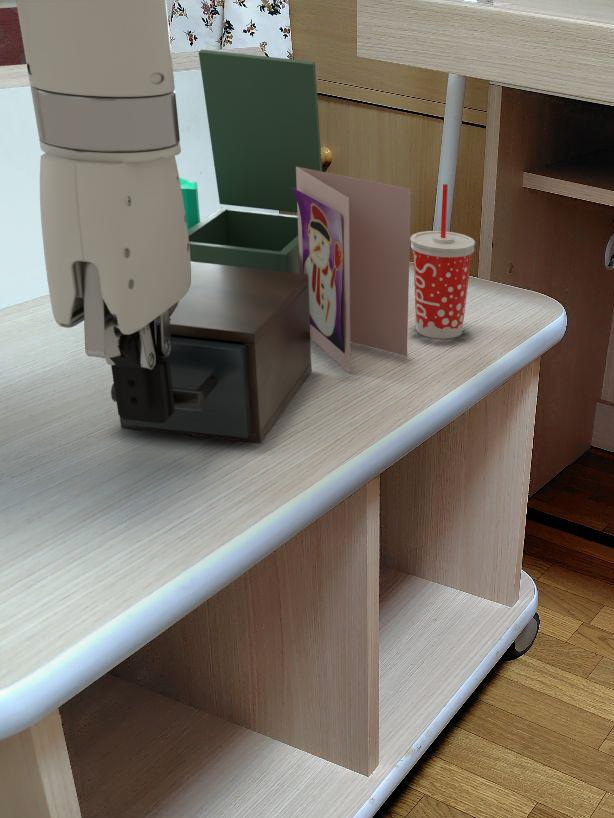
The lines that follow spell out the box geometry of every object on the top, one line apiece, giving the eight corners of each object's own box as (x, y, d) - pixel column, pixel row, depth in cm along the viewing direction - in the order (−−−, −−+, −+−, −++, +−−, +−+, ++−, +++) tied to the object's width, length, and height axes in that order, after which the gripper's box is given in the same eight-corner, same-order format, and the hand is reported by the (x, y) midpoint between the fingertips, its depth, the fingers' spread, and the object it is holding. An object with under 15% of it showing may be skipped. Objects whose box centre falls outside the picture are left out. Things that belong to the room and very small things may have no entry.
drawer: (227, 464, 69) (220, 373, 65) (94, 449, 69) (80, 357, 65) (297, 370, 84) (294, 292, 80) (188, 358, 84) (180, 279, 81)
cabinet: (260, 443, 74) (253, 333, 70) (120, 427, 74) (105, 317, 70) (311, 371, 86) (308, 274, 82) (191, 357, 87) (182, 260, 82)
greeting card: (293, 331, 94) (286, 166, 86) (364, 322, 98) (364, 164, 90) (341, 374, 86) (338, 198, 79) (417, 364, 90) (422, 194, 82)
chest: (289, 337, 93) (286, 254, 89) (178, 325, 93) (169, 241, 89) (325, 293, 104) (324, 218, 100) (226, 282, 104) (221, 207, 100)
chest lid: (312, 64, 90) (315, 61, 91) (198, 51, 90) (201, 49, 91) (323, 215, 100) (325, 212, 100) (219, 204, 100) (222, 201, 100)
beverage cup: (399, 322, 99) (401, 177, 92) (455, 317, 102) (461, 176, 94) (422, 344, 94) (427, 193, 87) (480, 338, 97) (489, 191, 90)
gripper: (105, 98, 63) (141, 369, 72) (-32, 137, 50) (33, 459, 60) (221, 111, 63) (241, 381, 72) (112, 153, 50) (155, 474, 59)
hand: (147, 416), depth 66 cm, fingers closed
